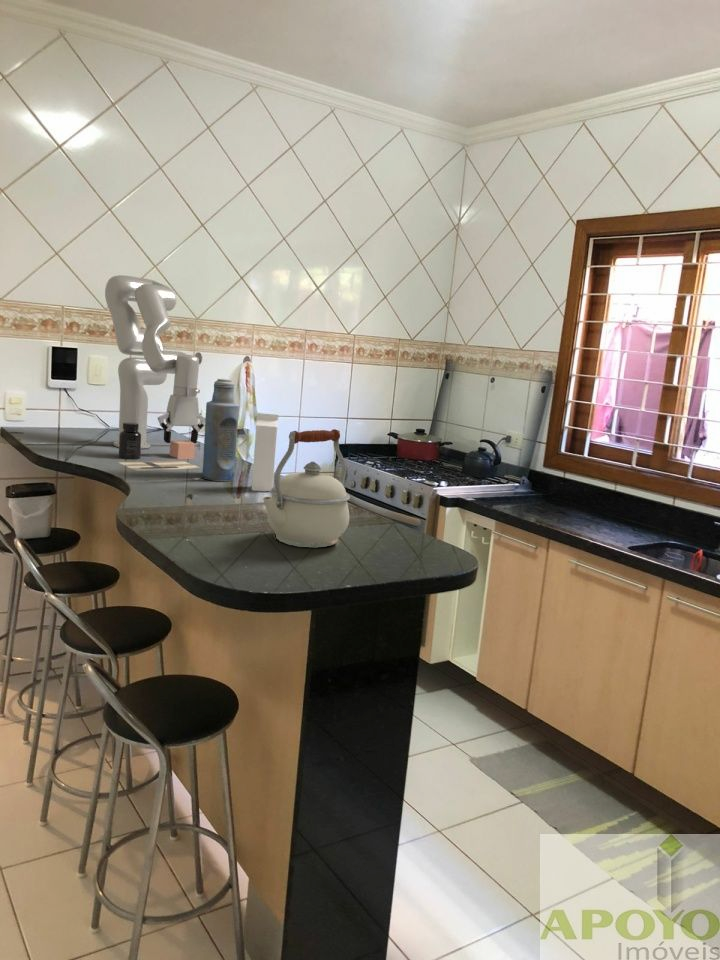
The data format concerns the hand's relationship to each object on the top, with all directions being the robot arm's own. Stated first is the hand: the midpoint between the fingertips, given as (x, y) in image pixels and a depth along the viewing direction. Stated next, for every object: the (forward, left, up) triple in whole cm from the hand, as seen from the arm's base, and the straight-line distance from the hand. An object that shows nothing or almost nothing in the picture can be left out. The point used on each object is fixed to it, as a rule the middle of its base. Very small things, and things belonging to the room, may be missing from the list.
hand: (180, 442), depth 259 cm
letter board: (+14, -14, -6) cm, 21 cm away
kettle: (+101, -21, -6) cm, 103 cm away
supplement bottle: (0, -18, -6) cm, 19 cm away
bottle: (+33, -4, -6) cm, 34 cm away
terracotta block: (+1, 0, -6) cm, 6 cm away
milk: (+50, +1, -6) cm, 51 cm away
